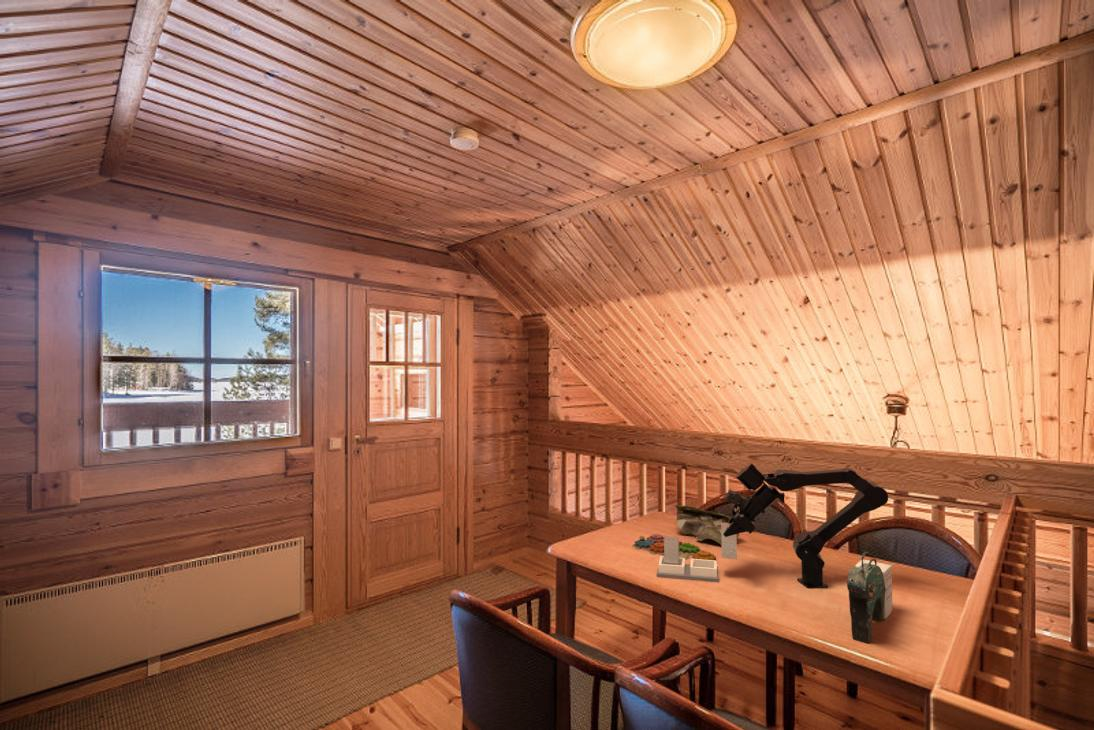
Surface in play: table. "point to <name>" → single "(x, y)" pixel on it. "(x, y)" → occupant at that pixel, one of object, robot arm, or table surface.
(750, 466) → the robot arm
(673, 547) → the billet
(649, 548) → the gear puzzle
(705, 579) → the double socket tray
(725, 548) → the block
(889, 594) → the supplement box
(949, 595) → the table surface
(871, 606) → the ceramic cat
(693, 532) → the hollow geode rock
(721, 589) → the table surface
